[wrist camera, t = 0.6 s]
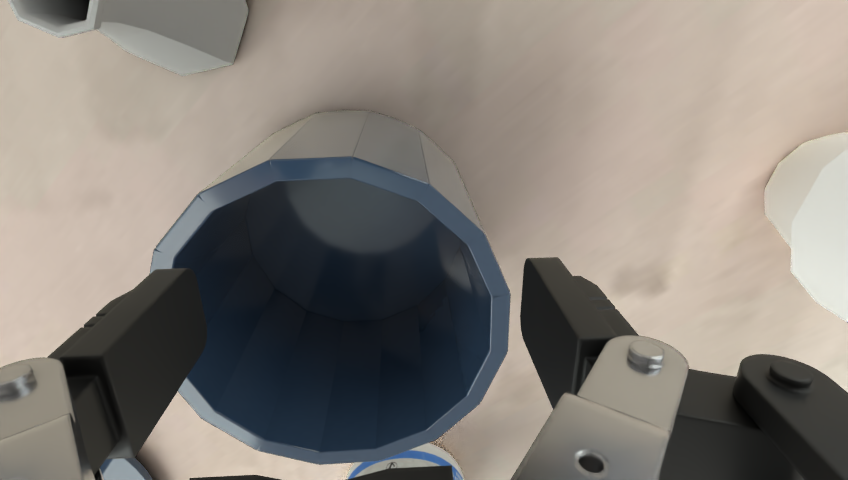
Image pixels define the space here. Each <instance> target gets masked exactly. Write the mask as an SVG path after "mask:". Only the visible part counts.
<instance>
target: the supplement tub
mask: <svg viewBox="0 0 848 480" xmlns="http://www.w3.org/2000/svg"><path fill="white" fill-rule="evenodd" d="M449 465H452V472H453V480H464V476H463V473H462V470H461V468H460V466H459V465H458V463H457V462H456V460H455V459H454V458H453V457H452V456H451V455H450V454H449V453H448V452H446V451H445V450H443V449H442V448H440V447H438V446H436V445H434V444H431V443H427V444H424V445H421V446H419V447H416V448H413V449H411V450H408V451H405V452H403V453H400V454H397V455H395V456H392V457H389V458H387V459H384V460H380V461H371V462H355V463H353V465H352V466H351V468H350V470H349V472H348V475H347V479H351V478H355V477H358V476H362V475H366V474H370V473H373V472H377V471H381V470H385V469H388V468H408V467H429V466H449ZM347 479H346V480H347Z"/></svg>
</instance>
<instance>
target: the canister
mask: <svg viewBox="0 0 848 480" xmlns="http://www.w3.org/2000/svg"><path fill="white" fill-rule="evenodd" d="M180 268H190V269H192V270H193V271H194V273H195V275H196V278H197V282H198V287H199V291H200V296H201V301H202V306H203V310H204V315H205V320H206V325H207V341H206V345H205V348H204V350H203V352H202V354H201V355H200V357H199V359H198V360H197V362H196V363H195V365H194V366H193V368H192V369H191V371H190V373H189V374H188V376H187V377H186V379H185V380H184V382H183V383H182V385H181V387H180V388H179V390H178V392H179V393H180V394H181V396H182V397H183V398H184V399H185V400H186V401H187V403H188V404H189V405H190V406H191V407H192V408H193V410H194V411H195V412H196V413H197V414H198V415H199V417H200V418H201V419H203V420H205V421H206V422H208V423H210V424H212V425H213V426H215V427H217V428H219V429H220V430H222V431H224V432H226V433H227V434H229V435H231V436H232V437H234V438H236V439H238V440H239V441H241V442H243V443H245V444H246V445H248V446H250V447H252V448H253V449H255V450H257V449H258V451H261V452H265V453H269V454H274V455H278V456H283V457H287V458H291V459H296V460H300V461H305V462H309V463H313V464H319V465H322V464H339V463H355V462H371V461H380V460H384V459H387V458H389V457H392V456H395V455H397V454H400V453H403V452H405V451H408V450H411V449H413V448H416V447H419V446H421V445H424V444H427V443H429V442H432V441H435V440H436V439H438V438H439V437H440V436H442V435H443V434H444V433H445V432H446V431H448V430H449V429H450V428H451V427H452V426H454V425H455V424H456V423H457V422H458V421H460V420H461V419H462V418H463V417H464V416H466V415H467V414H468V413H469V412H470V411H472V410H473V409H474V408H475V407H477V406H478V405H479V404H480V402H481V401H482V399H483V397H484V395H485V394H486V392H487V390H488V388H489V386H490V384H491V382H492V380H493V379H494V377H495V375H496V373H497V371H498V369H499V367H500V366H501V364H502V362H503V360H504V358H505V356H506V354H507V352H508V337H509V316H510V296H511V294H510V290H509V288H508V286H507V283H506V281H505V279H504V276H503V274H502V272H501V269H500V267H499V265H498V262H497V260H496V258H495V255H494V253H493V251H492V248H491V246H490V244H489V241H488V239H487V237H486V235H485V232H484V230H483V228H482V225H481V223H480V221H479V218H478V216H477V214H476V211H475V209H474V207H473V204H472V202H471V200H470V197H469V195H468V193H467V190H466V188H465V186H464V184H463V181H462V179H461V177H460V174H459V172H458V170H457V167H456V165H455V163H454V161H452V160H451V159H450V158H449V157H448V156H447V155H446V154H445V153H444V152H443V151H442V150H441V149H440V148H439V146H438V145H437V144H436V143H434V142H433V141H432V140H431V139H430V138H428V137H427V136H426V135H425V134H424V133H423V132H422V131H421V130H419V129H417V128H416V127H413V126H411V125H409V124H407V123H404V122H402V121H400V120H398V119H396V118H393V117H390V116H386V115H383V114H380V113H376V112H373V111H369V110H338V111H329V112H318V113H315V114H313V115H311V116H309V117H307V118H304V119H302V120H299V121H297V122H295V123H293V124H292V125H290V126H288V127H286V128H284V129H282V130H280V131H278V132H275V133H273V134H272V135H271V136H270V137H268V138H267V139H266V140H265V141H263V142H262V143H261V144H260V145H258V146H257V147H256V148H255V149H253V150H252V151H251V152H250V153H248V154H247V155H246V156H245V157H243V158H242V159H241V160H240V161H238V162H237V163H236V164H235V165H233V166H232V167H231V168H230V169H228V170H227V171H226V172H225V173H223V174H222V175H221V176H220V177H218V178H217V179H216V180H215V181H213V182H212V183H211V184H210V185H208V186H207V187H206V188H205V189H203V190H202V191H201V192H200V193H199V194H197V195H196V197H195V198H194V199H193V200H192V202H191V203H190V204H189V205H188V207H187V208H186V209H185V210H184V212H183V213H182V214H181V215H180V217H179V218H178V219H177V220H176V222H175V223H174V224H173V226H172V227H171V228H170V229H169V231H168V232H167V233H166V234H165V236H164V237H163V238H162V239H161V241H160V242H159V243H158V244H157V246H156V248H155V249H154V252H153V258H152V263H151V269H150V274H151V273H152V272H153V271H154V270H156V269H180ZM150 274H149V275H150Z"/></svg>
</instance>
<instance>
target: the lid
mask: <svg viewBox="0 0 848 480" xmlns="http://www.w3.org/2000/svg"><path fill="white" fill-rule="evenodd" d="M100 470H101V473H102V476H103V479H104V480H153V479H152V477H151V476H150V474H149V473H148V471H147V470H146V469H145V468H144V467H143V465H142V464H141V463H140V462H139V461H138V460H137V459H136V458H124V459H106V460H105V461H104V463H103V464H102V466H101V467H100Z"/></svg>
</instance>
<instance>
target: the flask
mask: <svg viewBox="0 0 848 480" xmlns="http://www.w3.org/2000/svg"><path fill="white" fill-rule="evenodd" d="M8 2H9V4H10V6H11V8H12V10H13V12H14V14H15V16H16V18H17V20H18V21H21V22H23V23H25V24H28V25H30V26H32V27H35V28H37V29H39V30H42V31H44V32H46V33H49V34H51V35H53V36H56V37H58V38H64V37H68V36H72V35H76V34H81V33H85V32H89V31H93V30H97V31H99V32H100V33H102V34H104V35H105V36H107V37H108V38H109V39H111V40H112V41H113V42H114V43H116V44H117V45H118V46H119V47H121V48H122V49H123V50H125V51H126V52H128V53H130V54H132V55H135V56H137V57H139V58H142V59H144V60H146V61H148V62H151V63H153V64H155V65H158V66H160V67H162V68H165V69H167V70H169V71H171V72H174V73H176V74H178V75H181V76H186V75H190V74H194V73H199V72H203V71H207V70H211V69H216V68H220V67H224V66H229V65H233V64H234V60H235V57H236V53H237V50H238V47H239V43H240V40H241V36H242V33H243V30H244V26H245V23H246V19H247V16H248V12H249V10H248V7H247V4H246V1H245V0H8Z"/></svg>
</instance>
